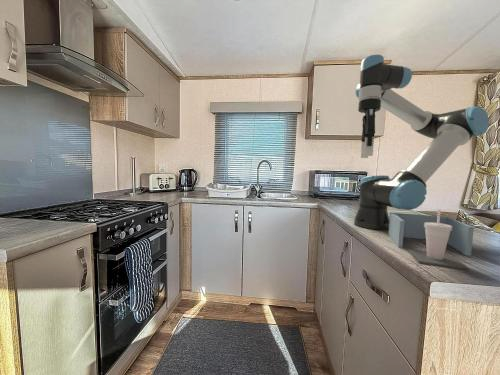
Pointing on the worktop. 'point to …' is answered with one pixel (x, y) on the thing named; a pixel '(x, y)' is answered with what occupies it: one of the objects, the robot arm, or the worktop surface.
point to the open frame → (415, 228)
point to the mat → (445, 262)
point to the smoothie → (436, 238)
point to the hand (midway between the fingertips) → (366, 157)
